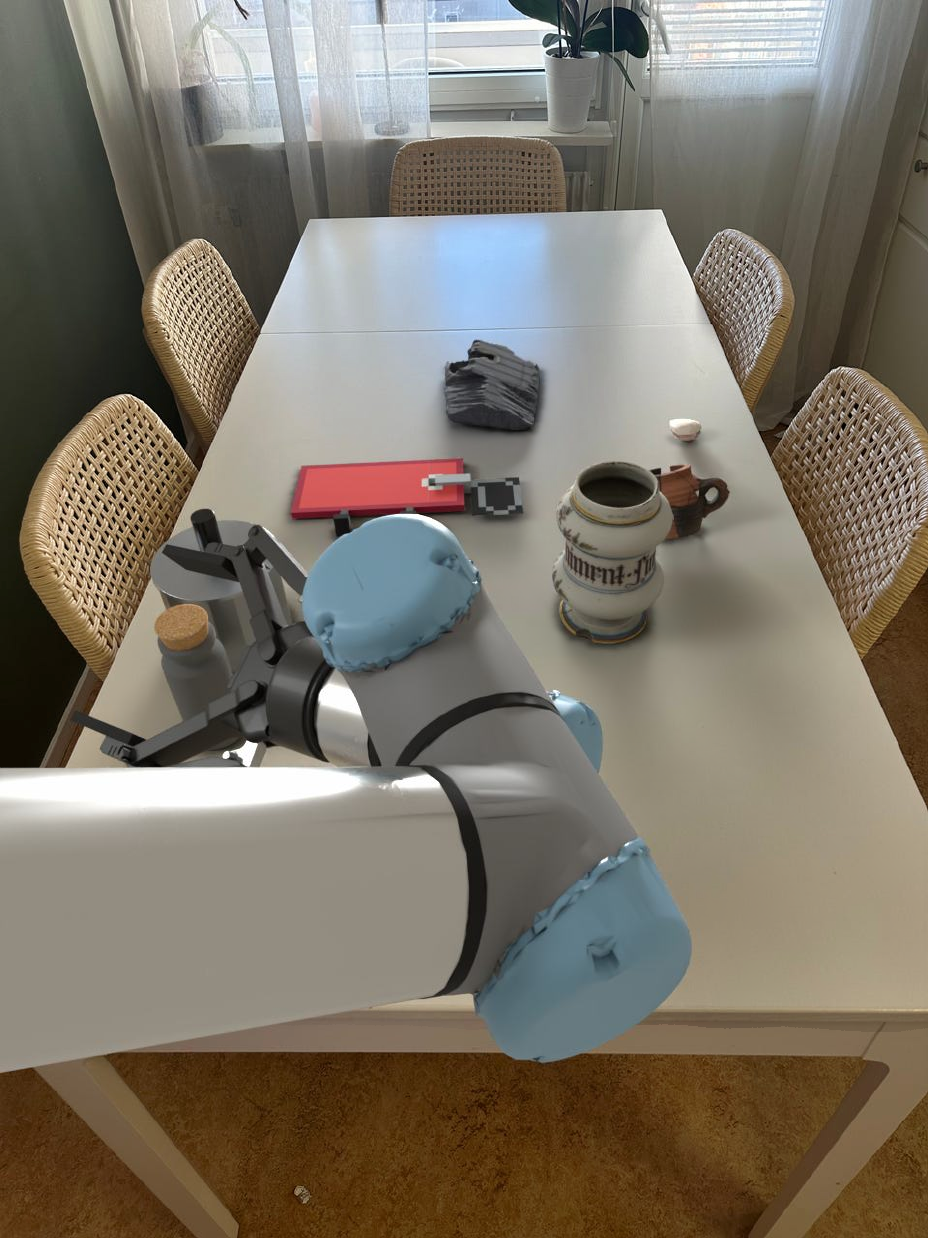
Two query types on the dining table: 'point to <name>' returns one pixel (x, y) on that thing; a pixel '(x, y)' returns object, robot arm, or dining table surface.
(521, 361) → the dark slate chunk
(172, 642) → the bottle
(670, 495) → the pottery mug
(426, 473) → the red board with handle
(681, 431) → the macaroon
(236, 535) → the pot lid
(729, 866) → the dining table surface
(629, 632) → the apothecary jar
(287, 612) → the pot
